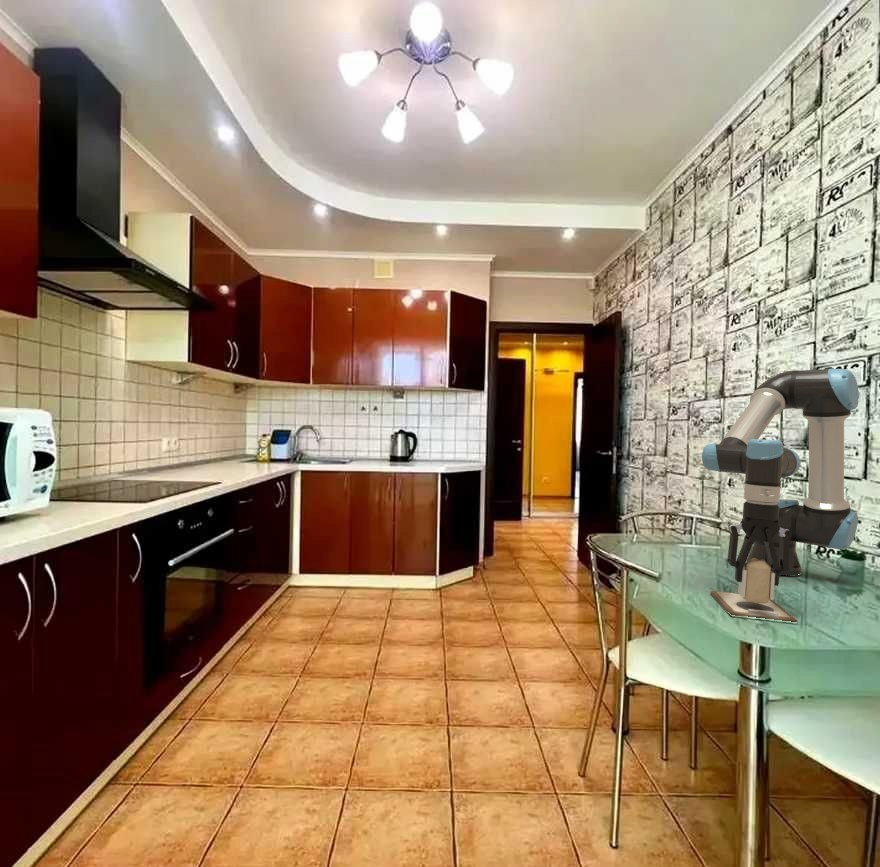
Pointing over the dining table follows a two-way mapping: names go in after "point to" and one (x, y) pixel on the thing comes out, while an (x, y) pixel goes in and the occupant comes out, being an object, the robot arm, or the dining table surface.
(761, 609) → the brown tray
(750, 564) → the candle
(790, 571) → the robot arm
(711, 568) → the dining table surface
